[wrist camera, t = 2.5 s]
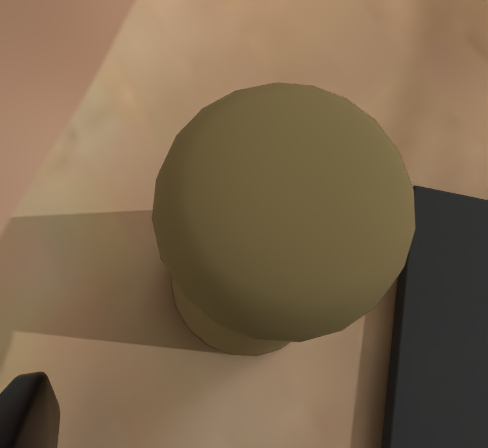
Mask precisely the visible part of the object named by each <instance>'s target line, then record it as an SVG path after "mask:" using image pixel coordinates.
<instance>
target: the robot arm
mask: <svg viewBox="0 0 488 448" xmlns="http://www.w3.org/2000/svg"><path fill="white" fill-rule="evenodd" d="M59 423H60V409H59V404H58V401H57V399H56V396H55V394H54V391H53V389H52V386H51V384H50V381H49V379H48V376H47V375H46V374H45V373H44V372H35V373H28V374H22V375H19V376H17V377H16V378H14V379H13V380H12V382H11V383H10V384H9V385H8V386H7V387H6V388H5V389H4V390H3V392H2V393H1V394H0V448H57V445H58V434H59Z"/></svg>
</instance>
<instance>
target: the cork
mask: <svg viewBox="0 0 488 448" xmlns="http://www.w3.org/2000/svg"><path fill="white" fill-rule="evenodd" d="M152 221H153V226H154V230H155V235H156V239H157V244H158V248H159V252H160V257H161V260H162V261H163V263H164V264H165V266H166V268H167V269H168V271H169V273H170V274H171V276H172V283H171V285H172V290H173V294H174V298H175V303H176V307H177V309H178V311H179V313H180V314H181V316H182V318H183V319H184V321H185V323H186V324H187V326H188V328H189V329H190V330H191V331H192V332H193V333H195V334H196V335H197V336H198V337H199V338H200V339H202V340H203V341H204V342H205V343H206V344H207V345H209V346H211V347H214V348H216V349H219V350H221V351H224V352H226V353H229V354H232V355H249V356H257V355H261V354H265V353H268V352H272V351H275V350H279V349H281V348H282V347H284V346H285V345H287V344H288V343H290V342H291V341H292V342H302V341H306V340H309V339H313V338H316V337H320V336H324V335H327V334H331V333H335V332H338V331H342V330H343V329H345V328H346V327H348V326H349V325H350V324H352V323H353V322H355V321H356V320H358V319H359V318H361V317H362V316H363V315H365V314H366V313H368V312H369V311H371V310H372V309H373V308H375V307H376V306H377V304H378V303H379V302H380V300H381V299H382V298H383V296H384V295H385V293H386V292H387V291H388V289H389V288H390V286H391V285H392V284H393V282H394V281H395V279H396V278H397V277H398V275H399V274H400V272H401V271H402V269H403V268H404V266H405V262H406V259H407V256H408V252H409V249H410V245H411V242H412V239H413V235H414V232H415V208H414V189H413V187H412V184H411V181H410V179H409V176H408V173H407V170H406V168H405V165H404V162H403V160H402V157H401V154H400V152H399V151H398V149H397V148H396V146H395V145H394V144H393V142H392V141H391V140H390V138H389V137H388V136H387V134H386V133H385V132H384V130H383V129H382V128H381V127H380V125H379V124H378V123H377V121H376V120H375V119H373V118H372V117H371V116H369V115H368V114H367V113H365V112H364V111H363V110H361V109H360V108H359V107H357V106H356V105H355V104H353V103H352V102H351V101H349V100H348V99H346V98H344V97H341V96H338V95H336V94H333V93H331V92H328V91H325V90H323V89H320V88H317V87H315V86H309V85H298V84H286V83H272V84H267V85H262V86H257V87H252V88H247V89H242V90H237V91H234V92H232V93H230V94H229V95H227V96H225V97H223V98H221V99H219V100H217V101H216V102H214V103H212V104H210V105H208V106H206V107H204V108H203V109H202V110H201V111H200V112H199V113H198V114H197V115H196V116H195V117H194V118H193V119H192V120H191V121H190V122H189V123H188V124H187V125H186V126H185V127H184V128H183V129H182V130H181V131H180V132H179V133H178V135H177V136H176V137H175V139H174V142H173V144H172V146H171V148H170V150H169V152H168V154H167V156H166V159H165V161H164V163H163V165H162V167H161V169H160V171H159V174H158V176H157V179H156V186H155V195H154V204H153V213H152Z"/></svg>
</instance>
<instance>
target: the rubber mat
mask: <svg viewBox="0 0 488 448" xmlns="http://www.w3.org/2000/svg"><path fill="white" fill-rule="evenodd" d="M413 189H414V208H415V232H414V235H413V239H412V242H411V245H410V249H409V252H408V256H407V259H406V262H405V266H404V268H403V269H402V271H401V272H400V274H399V278H398V288H397V298H396V308H395V318H394V328H393V338H392V348H391V358H390V368H389V378H388V388H387V398H386V408H385V418H384V428H383V438H382V448H488V200H484V199H479V198H474V197H469V196H464V195H459V194H455V193H450V192H445V191H440V190H435V189H430V188H425V187H420V186H413Z"/></svg>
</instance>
